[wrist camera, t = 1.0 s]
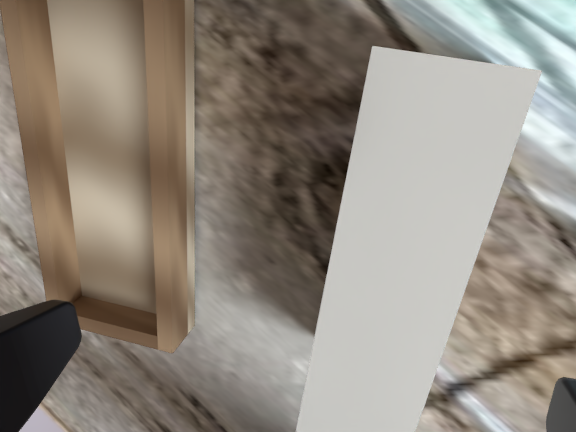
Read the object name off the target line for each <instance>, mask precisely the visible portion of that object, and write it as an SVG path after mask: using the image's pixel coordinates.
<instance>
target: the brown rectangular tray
mask: <svg viewBox="0 0 576 432" xmlns="http://www.w3.org/2000/svg"><path fill="white" fill-rule="evenodd" d="M0 8H1V15H2V21H3V28H4V34H5V40H6V47H7V53H8V59H9V66H10V72H11V78H12V85H13V91H14V98H15V104H16V110H17V117H18V123H19V129H20V136H21V142H22V149H23V155H24V161H25V168H26V174H27V180H28V187H29V193H30V199H31V206H32V212H33V219H34V225H35V231H36V238H37V244H38V250H39V257H40V263H41V270H42V276H43V282H44V289H45V295H46V301H49V300H54V299H56V300H63V301H69V302H71V303H72V304H73V305H74V306H75V309H76V313H77V317H78V321H79V325H80V329H82V330H86V331H90V332H94V333H97V334H101V335H105V336H109V337H112V338H116V339H120V340H124V341H128V342H131V343H135V344H139V345H143V346H146V347H150V348H154V349H158V350H162V351H165V352H169V353H173V352H174V351H175V350H176V349H177V347H178V346H179V345H180V343H181V342H182V341H183V340H184V338H185V337H186V336H187V335H188V333H189V332H190V331H191V330H192V328H193V327H194V326H195V126H194V0H0Z"/></svg>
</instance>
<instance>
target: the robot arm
mask: <svg viewBox="0 0 576 432" xmlns="http://www.w3.org/2000/svg"><path fill="white" fill-rule="evenodd" d="M81 337H82V334H81V329H80V325H79V321H78V317H77V313H76V309H75V306H74V305H73V304H72V303H71V302H69V301H63V300H56V299H54V300H49V301H46V302H42V303H39V304H36V305H33V306H30V307H27V308H24V309H21V310H18V311H15V312H11V313H8V314H5V315H2V316H0V432H19V431H20V429H21V428H22V427H23V426H24V424H25V423H26V422H27V421H28V419H29V418H30V417H31V415H32V414H33V413H34V411H35V410H36V409H37V407H38V406H39V404H40V403H41V402H42V400H43V399H44V397H45V396H46V394H47V393H48V391H49V390H50V388H51V387H52V385H53V384H54V382H55V381H56V379H57V378H58V376H59V375H60V373H61V372H62V371H63V369H64V368H65V366H66V365H67V363H68V362H69V360H70V359H71V357H72V356H73V354H74V353H75V351H76V350H77V348H78V347H79V345H80V342H81ZM546 429H547V432H576V379H572V378H566V377H562V378H560V379H558V381H557V382H556V384H555V388H554V391H553V395H552V399H551V402H550V406H549V410H548V413H547V419H546Z"/></svg>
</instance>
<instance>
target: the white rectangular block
mask: <svg viewBox="0 0 576 432" xmlns="http://www.w3.org/2000/svg"><path fill="white" fill-rule="evenodd" d="M541 73H542V71H540V70H533V69H527V68H520V67H513V66H506V65H499V64H493V63H486V62H479V61H472V60H466V59H459V58H452V57H445V56H438V55H432V54H425V53H418V52H411V51H404V50H398V49H391V48H384V47H377V46H372V50H371V55H370V60H369V65H368V70H367V75H366V80H365V85H364V90H363V95H362V100H361V105H360V110H359V115H358V120H357V125H356V130H355V136H354V141H353V146H352V151H351V156H350V161H349V166H348V171H347V176H346V181H345V186H344V191H343V196H342V201H341V206H340V211H339V216H338V221H337V226H336V231H335V236H334V241H333V246H332V251H331V256H330V261H329V266H328V271H327V276H326V281H325V286H324V291H323V296H322V301H321V306H320V311H319V316H318V321H317V326H316V331H315V337H314V342H313V347H312V352H311V357H310V362H309V367H308V372H307V377H306V382H305V387H304V392H303V397H302V402H301V407H300V412H299V417H298V422H297V427H296V432H415V431H416V428H417V425H418V422H419V419H420V416H421V414H422V411H423V408H424V405H425V402H426V399H427V397H428V394H429V391H430V388H431V385H432V382H433V379H434V377H435V374H436V371H437V368H438V365H439V362H440V360H441V357H442V354H443V351H444V348H445V345H446V343H447V340H448V337H449V334H450V331H451V328H452V325H453V323H454V320H455V317H456V314H457V311H458V308H459V306H460V303H461V300H462V297H463V294H464V291H465V289H466V286H467V283H468V280H469V277H470V274H471V271H472V269H473V266H474V263H475V260H476V257H477V254H478V252H479V249H480V246H481V243H482V240H483V237H484V235H485V232H486V229H487V226H488V223H489V220H490V217H491V215H492V212H493V209H494V206H495V203H496V200H497V198H498V195H499V192H500V189H501V186H502V183H503V181H504V178H505V175H506V172H507V169H508V166H509V163H510V161H511V158H512V155H513V152H514V149H515V146H516V144H517V141H518V138H519V135H520V132H521V129H522V127H523V124H524V121H525V118H526V115H527V112H528V109H529V107H530V104H531V101H532V98H533V95H534V92H535V90H536V87H537V84H538V81H539V78H540V75H541Z"/></svg>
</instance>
